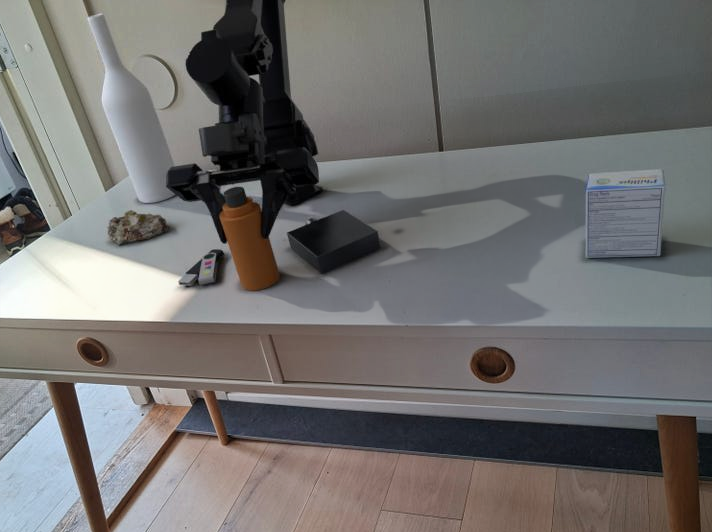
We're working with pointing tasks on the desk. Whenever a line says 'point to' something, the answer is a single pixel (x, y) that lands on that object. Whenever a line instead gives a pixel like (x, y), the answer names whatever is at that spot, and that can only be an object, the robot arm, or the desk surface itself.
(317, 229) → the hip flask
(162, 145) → the bottle
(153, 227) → the mineral rock
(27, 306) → the desk surface
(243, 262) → the amber bottle
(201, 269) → the usb flash drive
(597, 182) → the medicine box
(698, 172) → the desk surface
